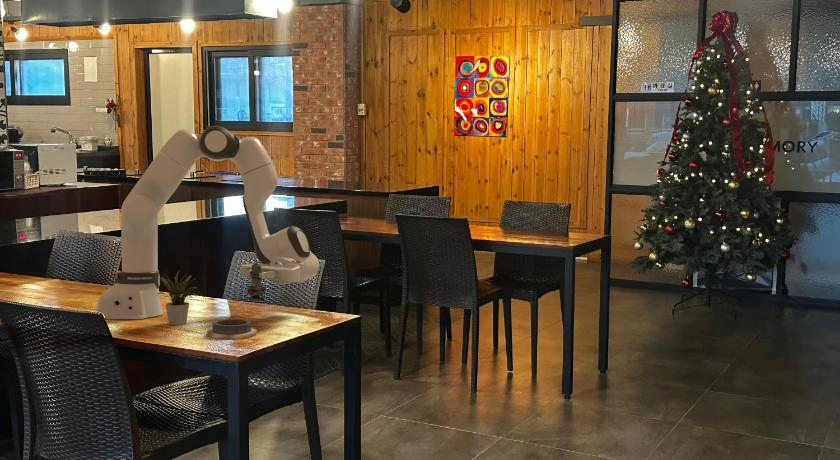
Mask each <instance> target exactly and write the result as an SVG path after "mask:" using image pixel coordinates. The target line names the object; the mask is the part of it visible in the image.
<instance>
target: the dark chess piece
mask: <svg viewBox="0 0 840 460" xmlns="http://www.w3.org/2000/svg"><path fill="white" fill-rule="evenodd" d="M252 264H253V265H252V275H250V276H251V277H250V279H251V280H250V285H249V286H247V287H246V290H247V293H248V295H250V297H248V298H247V299H246V300H247V301H250V302H261V301H265V299H266V298H264V297H263V296H264V294H265V292H266V288H267V287H265V286H263V284H262V278H259V273H260V272H261V265H260V264H261V263H258V260H255V262H254V263H252Z"/></svg>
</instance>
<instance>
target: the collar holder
mask: <svg viewBox="0 0 840 460" xmlns="http://www.w3.org/2000/svg"><path fill="white" fill-rule="evenodd" d="M257 332H258V331H257V329H256V328H254V327H252V321H251V320H248V319H240V318H239V319H238V318H233V319H231V318H229V319H227V318H225V319H219V320H215V321H213V322H212V328H210V329H208V330H207V333H206V334H207V335H206V336H207V337H208V338H211V339H218V340H241V339H249V338H253V337H255V336H257V334H258V333H257Z"/></svg>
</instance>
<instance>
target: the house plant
mask: <svg viewBox="0 0 840 460" xmlns="http://www.w3.org/2000/svg"><path fill="white" fill-rule="evenodd" d="M179 272H180V270H179V271H177V274H176V276H174V282H173V281H172V280H171V279H170V277H168V276H167V275H165V274H164V276H166V277H167V279H166V277H163V276H161V278H160V279H159V280H160V281H162V282H163V285H164V286H165V287H166V289H167V290H168V293H165V292H162V291H159V293H158V294H159V297H160V298H161V295H164V296H165V297H167V298H169V300H170V301H171V302H166V303H165V309H166V316H167V321H168V325H169V326H184V325H187V320H188V314H189V307H190V302H187V301H185V300H186V298H187V297H190V298H193V297H192V295H193V296H195V297H197V294H196V293H194V292H192V291H194V290H195V289H197V288H198V287H197V286H191V287H189V288H187V286H188V285H189V283H190V278H191V277H193V274H191V275H189V276H188V277H186V276H187V275H188V273H186V274H185V275H184V277H186V278H185V280H183V278H184V277H181V279H180V281H179ZM153 278H155V277H153ZM157 279H158V278H157ZM195 279H197V277H196V278H194V279H192V281H194V280H195ZM182 280H183V281H182ZM186 288H187V289H186Z"/></svg>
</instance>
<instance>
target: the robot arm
mask: <svg viewBox="0 0 840 460" xmlns="http://www.w3.org/2000/svg"><path fill="white" fill-rule="evenodd" d="M201 158H202V159H205V160H208V161H211V162H214V163H224V162H227V161H232V163H233V164H235V166H236V168H237V170H238V172H239V174H240V176H241V179H242V181H243V187H244V194H243V195H242V203H243V208H244V213H245V215H246V219H247V223H248V226H249V229H250V233H251V236H252V240H253V246H254V254H255V257H256V259H257V261H258V262H259V264H260V265H261V272H260V273H259V278H261V280H262V279H263V280H271V281H272V282H273V283H274V284H276V285H278V286H280V285H288V284H296V283H297V284H303V283H304V282H305V281H307V280H310V279H312V278H313V277H314V276H315V275H316V274H317V273H318V271H319V268H320V261H319V259H318V257H317V256H316V255H315V254H314V253H313V252H312V251H311V246H310V240H309V238H308V236H307V234H306V232H304V230H302V229H301V228H299V227H298V226H295V225H290V226H287V227H286V228H285V227H284V228H283V229H281V230H279V231H278V232H276V233H273V234H270V232H269V229H268V226H267V222H266V219H265V215H264V206H265V204H266V202H267V200H268V199H269V197H271V196H272V194H273V193H274V192H275V190H276V187H277V186H278V181H279V176H278V173H277V169H276V167H275V165H274V163H273V161H272V159H271V157H270V154H269V153H268V151H267V149H266V148H265V146H264V145H263V143H262V142H261V141H260V140H259V139H258V138H257V137H254V136H246V137H243V138H239V137H238V136H236V135H235V133H234V134H233V133H232V132H231V131H230V130H228V129H227V128H226V127H223V126H220V125H213V126H209V127H207V128H206V129H204V131H203V132H202V133H201V134H197V133H195V132H194V131H191V130H190V129H182V128H181V129H180V130H177V131H176V132H175V133H174V134H173V135H172V136H171V137H170V138H169V139H168V140H167V141H166V143H164V145H163V146H162V147H161V149H160V150H159V151H158V153H157V155H156V156H155V157H154V159H152V161H151V163H150V164H149V166H148V167H147V168H146V169H145V171H144V173H143V174H142V175H141V177H140V178H139V179H138V181H137V182H136V184H135V185H134V186H133V188H132V189H131V191H130V192H129V194H128V195H127V196H126V197H125V199H124V201H123V203H122V205H121V210H120V216H121V217H120V218H121V219H120V221H121V223H120V225H121V226H120V227H121V228H120V229H121V231H120V232H121V233H120V235H121V271H120V270H117V271H116V272H115V273H114V277H115V278H114V279H115V283H114V284H113V285H112V286H110V287H109V288H108V289H106V290H105V291H104V292H103V293H102V294H101V295H100V296H99V297H98V300H97V305H96V309H94V310H93V311H98V312H101V313H103V314H104V316H105V318H106V319H105V320H143V319H147V318H152V317H158V316H161V315H163V314H164V310H163V307H162V303H161V299H160V298H161V296H160V294H158V293H159V292H160V290H159V289H160V286H161V285H160V284H161V283H160V282H161V277H160V276H161V275H160V270H159V269H158V267H159V265H158V263H159V261H158V259H159V258H158V256H159V255H158V254H159V253H158V247H159V245H158V242H159V241H158V239H159V237H158V235H159V233H158V232H159V231H158V228H159V226H158V223H159V216H158V215H159V213H160V211H161V210H162V209H163V207H164V206H165V205H166V203H167V202H168V200H170V198H171V197H172V196H173V194H174V193H175V192H176V190H177V189H178V188H179V186H180V185H181V183H182V182H183V180H184V179H185V177H186V176H187V174H188V173H189V171H190V170H191V169H192V167H193V166H194V165H195V163H196V162H197V160H199V159H201ZM253 264H254V263H247V264H242V265H241V266H240V270H239V271H240V276H241V277H245V278H251V276H250V275H252V265H253ZM153 277H155V278H153ZM157 278H158V279H157ZM159 279H160V280H159ZM159 296H160V297H159Z"/></svg>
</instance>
